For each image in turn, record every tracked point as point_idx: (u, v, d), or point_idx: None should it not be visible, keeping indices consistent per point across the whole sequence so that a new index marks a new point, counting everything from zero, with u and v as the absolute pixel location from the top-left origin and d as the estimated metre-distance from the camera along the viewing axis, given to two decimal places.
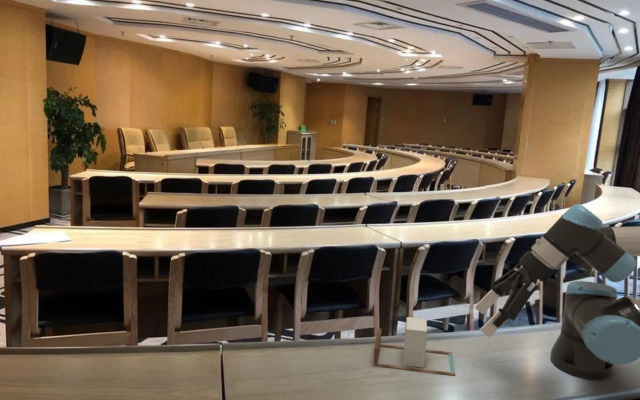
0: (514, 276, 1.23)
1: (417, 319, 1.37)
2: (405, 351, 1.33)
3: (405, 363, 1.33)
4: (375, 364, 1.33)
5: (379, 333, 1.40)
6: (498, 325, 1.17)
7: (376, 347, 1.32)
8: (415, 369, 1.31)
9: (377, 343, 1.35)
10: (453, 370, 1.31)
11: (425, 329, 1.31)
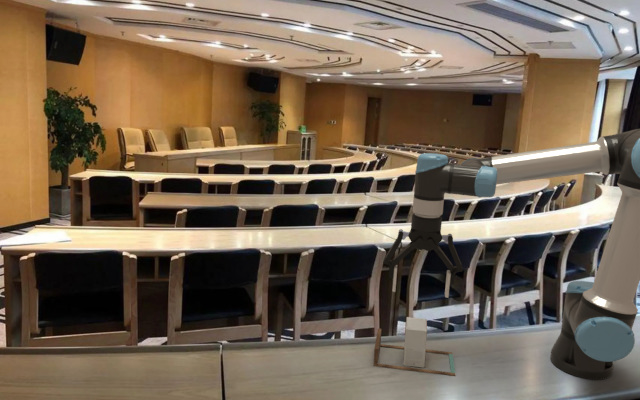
0: None
1: (417, 319, 1.37)
2: (405, 351, 1.33)
3: (405, 363, 1.33)
4: (375, 364, 1.33)
5: (379, 333, 1.40)
6: (389, 275, 1.33)
7: (376, 347, 1.32)
8: (415, 369, 1.31)
9: (377, 343, 1.35)
10: (453, 370, 1.31)
11: (425, 329, 1.31)
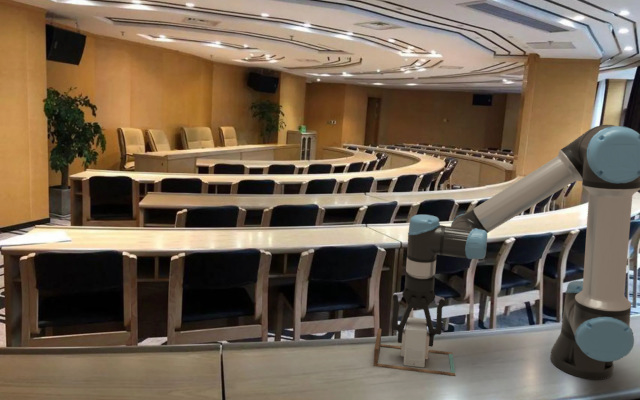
0: None
1: (417, 319, 1.37)
2: (405, 351, 1.33)
3: (405, 363, 1.33)
4: (375, 364, 1.33)
5: (379, 333, 1.40)
6: None
7: (376, 347, 1.32)
8: (415, 369, 1.31)
9: (377, 343, 1.35)
10: (453, 370, 1.31)
11: (425, 329, 1.31)
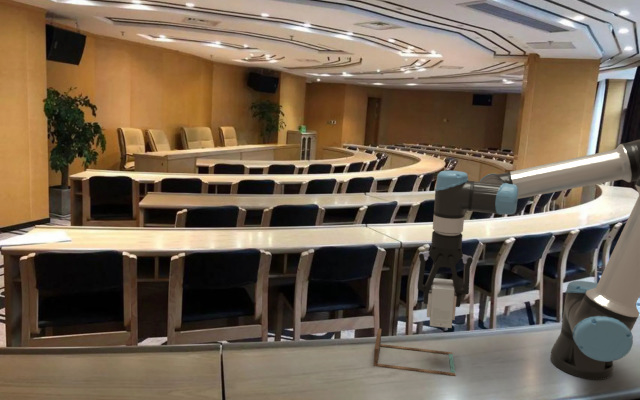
0: None
1: (443, 280, 1.34)
2: (432, 311, 1.29)
3: (432, 323, 1.30)
4: (375, 364, 1.33)
5: (379, 333, 1.40)
6: None
7: (376, 347, 1.32)
8: (415, 369, 1.31)
9: (377, 343, 1.35)
10: (453, 370, 1.31)
11: (452, 288, 1.28)
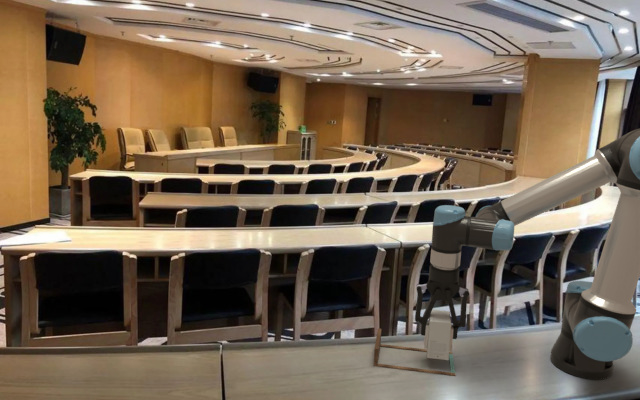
0: None
1: (440, 311, 1.36)
2: (429, 343, 1.31)
3: (429, 355, 1.31)
4: (375, 364, 1.33)
5: (379, 333, 1.40)
6: None
7: (376, 347, 1.32)
8: (415, 369, 1.31)
9: (377, 343, 1.35)
10: (453, 370, 1.31)
11: (449, 321, 1.30)
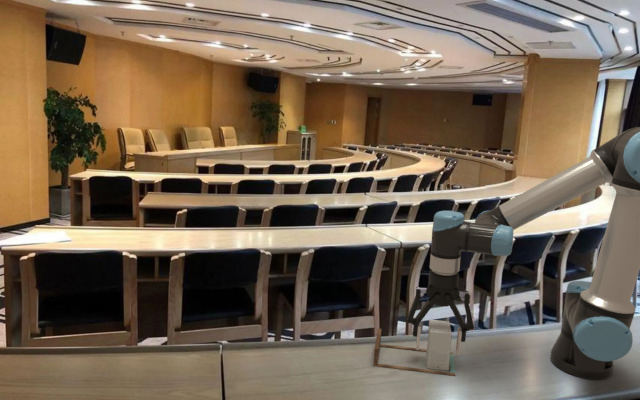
0: None
1: (440, 321, 1.36)
2: (429, 354, 1.31)
3: (429, 366, 1.32)
4: (375, 364, 1.33)
5: (379, 333, 1.40)
6: None
7: (376, 347, 1.32)
8: (415, 369, 1.31)
9: (377, 343, 1.35)
10: (453, 370, 1.31)
11: (450, 332, 1.30)
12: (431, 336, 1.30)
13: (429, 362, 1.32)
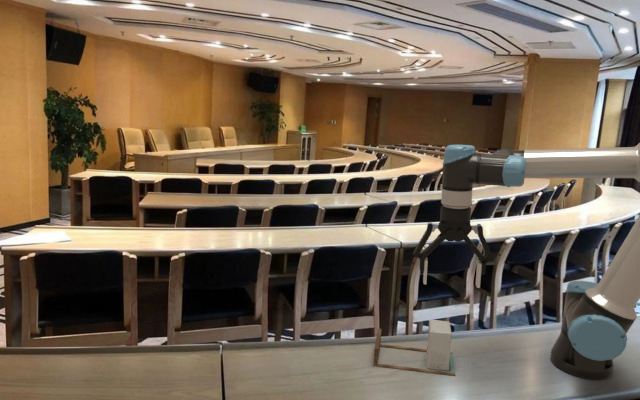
0: None
1: (440, 321, 1.36)
2: (429, 354, 1.31)
3: (429, 366, 1.32)
4: (375, 364, 1.33)
5: (379, 333, 1.40)
6: None
7: (376, 347, 1.32)
8: (415, 369, 1.31)
9: (377, 343, 1.35)
10: (453, 370, 1.31)
11: (449, 332, 1.30)
12: (431, 336, 1.30)
13: (429, 362, 1.32)
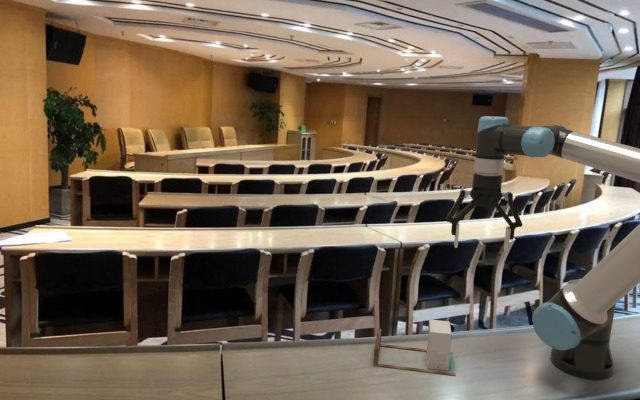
0: None
1: (440, 321, 1.36)
2: (429, 354, 1.31)
3: (429, 366, 1.32)
4: (375, 364, 1.33)
5: (379, 333, 1.40)
6: (451, 232, 1.42)
7: (376, 347, 1.32)
8: (415, 369, 1.31)
9: (377, 343, 1.35)
10: (453, 370, 1.31)
11: (449, 332, 1.30)
12: (431, 336, 1.30)
13: (429, 362, 1.32)
